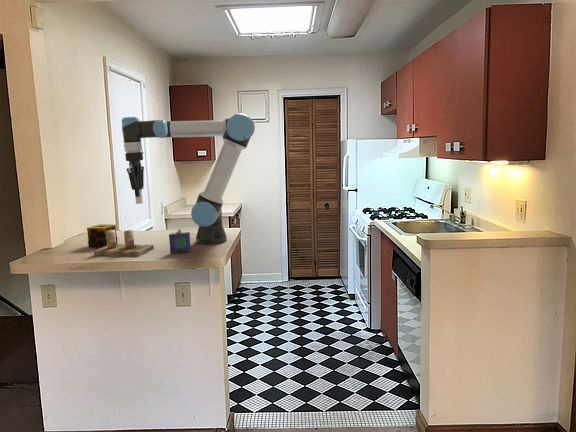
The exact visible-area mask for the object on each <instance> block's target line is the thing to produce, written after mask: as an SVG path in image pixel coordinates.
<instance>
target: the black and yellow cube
mask: <svg viewBox="0 0 576 432" xmlns="http://www.w3.org/2000/svg"><path fill="white" fill-rule="evenodd" d="M116 225H117V224H108V223H107V224H96V225H92V226H90V227H87V228H86V231H87V244H88V245H87V246H88V248H90V249H100V248H103V247H105V246H107V238H106V231H107V230H115V234H116V244H118V240H119V238H118V233H117V226H116Z"/></svg>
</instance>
